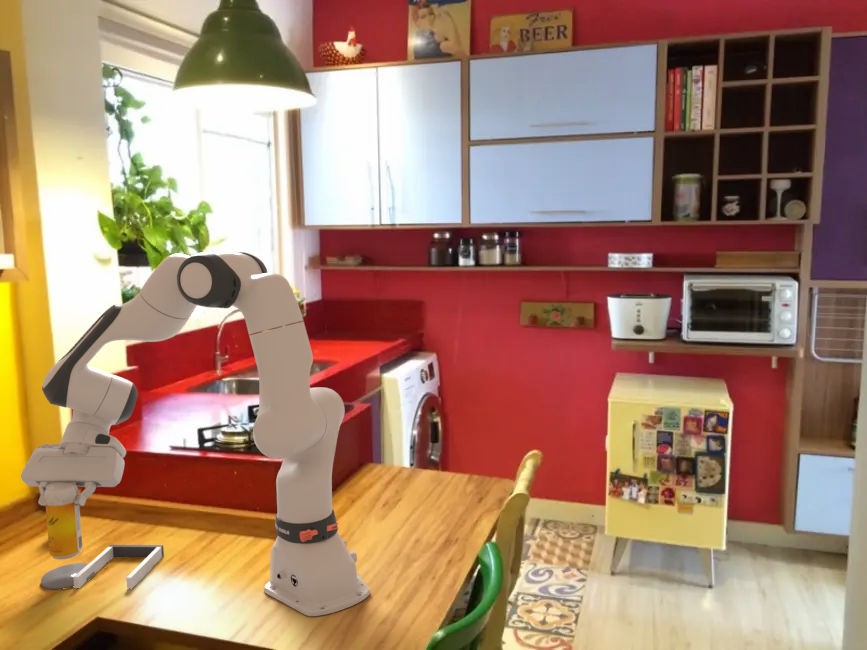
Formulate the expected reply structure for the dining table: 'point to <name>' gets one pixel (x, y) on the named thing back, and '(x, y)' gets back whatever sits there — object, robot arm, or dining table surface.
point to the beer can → (63, 520)
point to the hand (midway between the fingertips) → (60, 504)
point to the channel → (148, 551)
